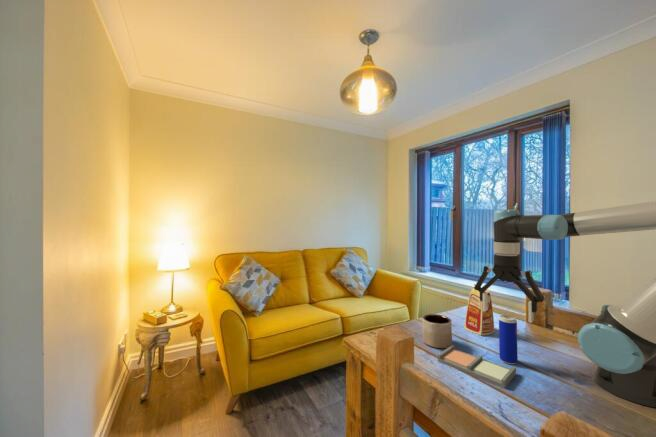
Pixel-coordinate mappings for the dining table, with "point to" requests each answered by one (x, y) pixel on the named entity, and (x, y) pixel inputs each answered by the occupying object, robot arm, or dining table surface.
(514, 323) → the beverage can
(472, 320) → the milk carton
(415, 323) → the dining table surface
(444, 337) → the planter
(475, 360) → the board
